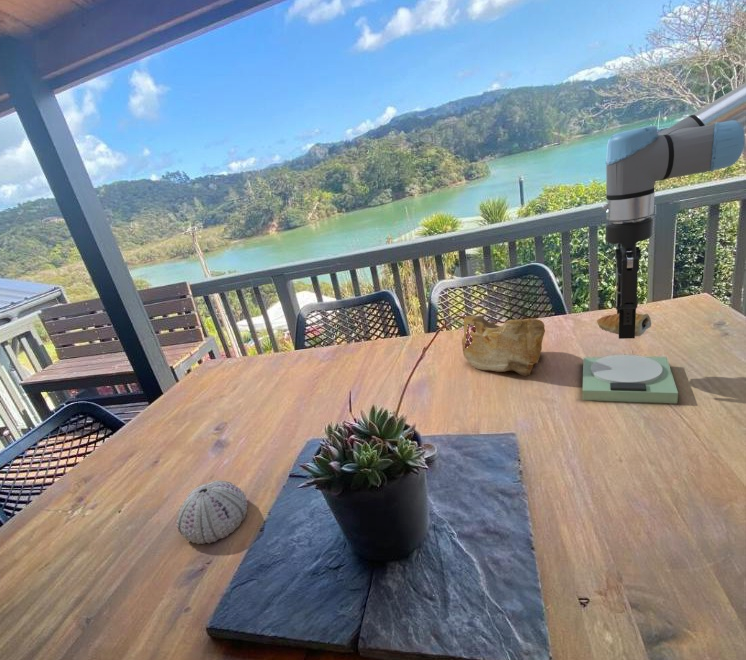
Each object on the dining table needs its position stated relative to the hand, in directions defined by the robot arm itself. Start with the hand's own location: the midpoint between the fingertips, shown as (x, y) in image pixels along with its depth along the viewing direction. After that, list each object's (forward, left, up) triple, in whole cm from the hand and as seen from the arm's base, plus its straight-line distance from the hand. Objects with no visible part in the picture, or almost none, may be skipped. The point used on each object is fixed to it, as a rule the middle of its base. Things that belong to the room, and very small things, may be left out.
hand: (625, 329), depth 91 cm
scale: (0, +2, -12) cm, 13 cm away
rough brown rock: (+24, -8, -13) cm, 28 cm away
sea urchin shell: (+69, +60, -13) cm, 92 cm away
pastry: (0, 0, 0) cm, 0 cm away
